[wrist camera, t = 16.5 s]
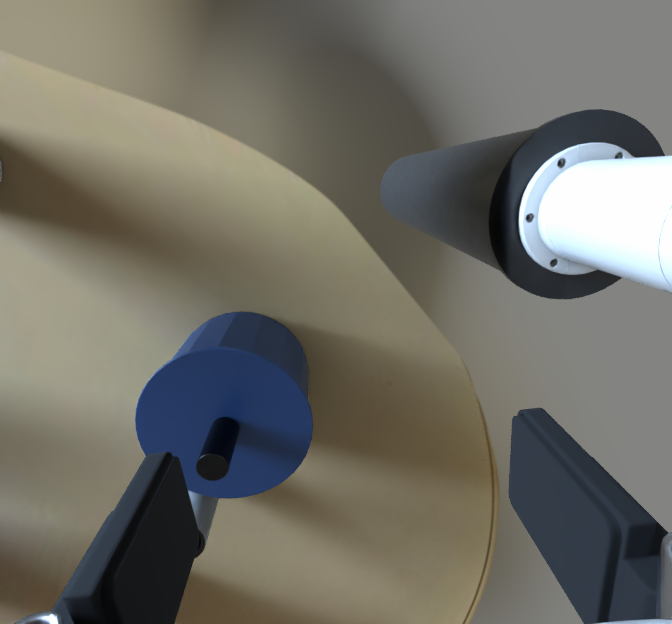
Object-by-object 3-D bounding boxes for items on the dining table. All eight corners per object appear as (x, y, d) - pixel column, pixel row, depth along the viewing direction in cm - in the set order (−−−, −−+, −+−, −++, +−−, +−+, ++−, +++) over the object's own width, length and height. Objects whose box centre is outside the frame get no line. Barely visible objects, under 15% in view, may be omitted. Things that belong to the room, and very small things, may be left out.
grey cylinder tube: (189, 441, 43) (154, 518, 34) (231, 448, 44) (209, 526, 34) (183, 475, 45) (147, 559, 35) (224, 482, 45) (200, 566, 35)
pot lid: (238, 308, 30) (223, 336, 24) (345, 433, 34) (352, 481, 28) (103, 407, 32) (61, 453, 26) (219, 514, 36) (203, 573, 30)
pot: (254, 286, 38) (236, 320, 29) (331, 380, 42) (337, 436, 33) (154, 359, 40) (109, 412, 31) (237, 444, 44) (218, 513, 35)
